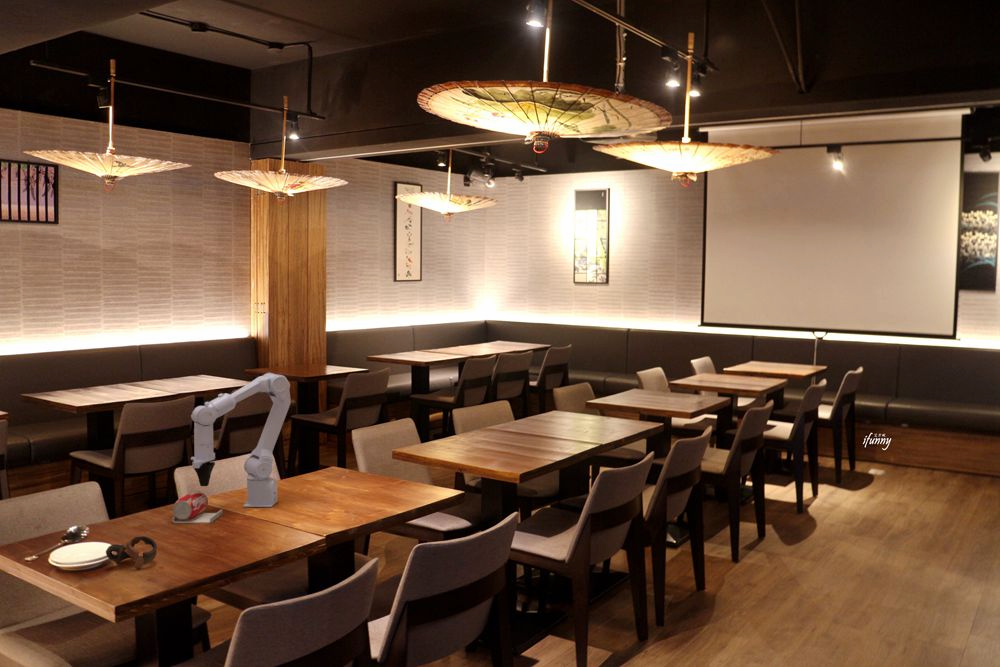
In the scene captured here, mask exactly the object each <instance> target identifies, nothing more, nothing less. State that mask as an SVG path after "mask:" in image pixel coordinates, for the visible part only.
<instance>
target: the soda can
mask: <svg viewBox="0 0 1000 667" xmlns="http://www.w3.org/2000/svg"><path fill="white" fill-rule="evenodd" d="M208 503H209V501H208V496H207V495H206V494H205V493H204V492H202V491H199V490H198V491H196V490H195V491H192V492H189V493H188V494H186V495H184V496H181V497H180V498H179V499H177V500H176V501H175V503H174V505H173V507H172V510H173V515H174V517H175V516H176V517H177V518H178V519H182V520H188V519H190V518H192V517H194V516H196V515H197V514H199V513H203V511H204V510H206V508H207V507H208Z"/></svg>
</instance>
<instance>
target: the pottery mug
mask: <svg viewBox="0 0 1000 667" xmlns="http://www.w3.org/2000/svg"><path fill="white" fill-rule="evenodd" d="M141 541H142V542H144V544H145V545H149V546H151V547H152V549H151V550H150V551H144V552H142V553H143V554H142V555H139V554H140V551H139V550H137V549H135V548H134V547H135V545H137V544H138V543H141ZM157 545H158V544H157V543H156V542H155V540H154V539H153V538H151V537H149V536H146V535H135V536H131V537H130V538H129V539H128V540H127V541H125V542H124V543H123V544H111V545H109V546H108V547H107V549H106V550H105V554H106V557H107V559H109V560H110V561H113V562H114V563H115V565H120V563H121V562H123V561H124V560H128V559H133V560H135V563H134V565H133V568H134V569H137V570H141V569H142V567H143V566H144V565H146V564H148V563H150V562H152V561H153V560H154V559H155V558H156V556H157V554H158V553H157V547H158V546H157ZM113 552H115V553H116V554H114V553H113Z"/></svg>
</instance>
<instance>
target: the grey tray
mask: <svg viewBox="0 0 1000 667" xmlns="http://www.w3.org/2000/svg"><path fill="white" fill-rule="evenodd" d="M220 515H221V516H222V515H223V509H220V510H219V511H217V512H201V513H199V514H197V515H196V516H194V517H192V518H190V519H188V520H182V519H178V518H177V517H176V516H175V515H174V516H173V517H172V519H171V520H172V522H171V523H172V524H213V523H214V522H215V521H216V520H217V519H218V517H219V516H220ZM221 516H220V517H221ZM220 517H219V518H220ZM214 520H215V521H214ZM213 521H214V522H213Z"/></svg>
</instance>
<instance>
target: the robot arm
mask: <svg viewBox="0 0 1000 667" xmlns="http://www.w3.org/2000/svg"><path fill="white" fill-rule="evenodd" d="M290 388H291V383H290V382H289V380H288V379H287V377H286V376H285V375H283V374H276V373H272V372H266V373H265V374H263V375H261V376H257V377H256V378H255V379H253V380H252V381H250V382H248V383H247V384H246V385H244V386H242V387H241V388H238V389H237V390H235V391H234V392H233V393H226V392H225V393H219V394H218V395H217V396H218V397H216V398H214V399H212V400H210V401H205V402H204V405H198V406H196V407H194V410H193V411H192V412H191V413H192V414H190V418H191V420H192V421H193V422H194V423H193V424H194V426H193V427H194V429H193V433H194V435H193V438H194V441H193V443H194V444H193V445H194V450H193V451H194V456H191V457H190V460H191V461H192V469H193V470H194V471H195V473H196V475H197V477H198V482H199V485H200V487H208V486H209V484H210V481H211V480H210V479H211V474H212V471H213V469H214V467H215V465H216V462H215V461H214V460H215V459H216V452H214V423H215V422H216V420H217V419H218V418H220V417H222V416H224V415H225V414H227V413H228V412H230V411H232V410H234V409H235V407H236V405H237V403H239V402H242V400H246V398H247V399H248V397H250V396H252V395H255V394H257V393H267V395H268V396H269V397H270V399H271V402H272V406H271V409H270V411H269V414H268V416H267V418H266V422H265V424H264V427H263V429H262V432H261V435H260V438H259V439H258V442H257V445H256V447H255V448H254V449H253V450H252V451H251V453H250V455H249V457H247V459H246V460H245V461H244V464H243V467H244V471H245V472H246V474H247V476H246V486H247V487H246V495H247V496H246V502H245V504H244V505H243V506H242V507H243V508H246V507H247V508H272V507H273V506H274V505H275V504H277V502H279V501H278V480H277V479H276V478H275V477H270V476H271V474H272V472H273V461H274V455H273V451H274V448H275V445H276V443H277V440H278V437H279V435H280V433H281V429H282V428H283V424H284V422H285V419H286V416H287V413H288V411H289V409H290V405H291V402H292V401H291V392H290Z"/></svg>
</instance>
